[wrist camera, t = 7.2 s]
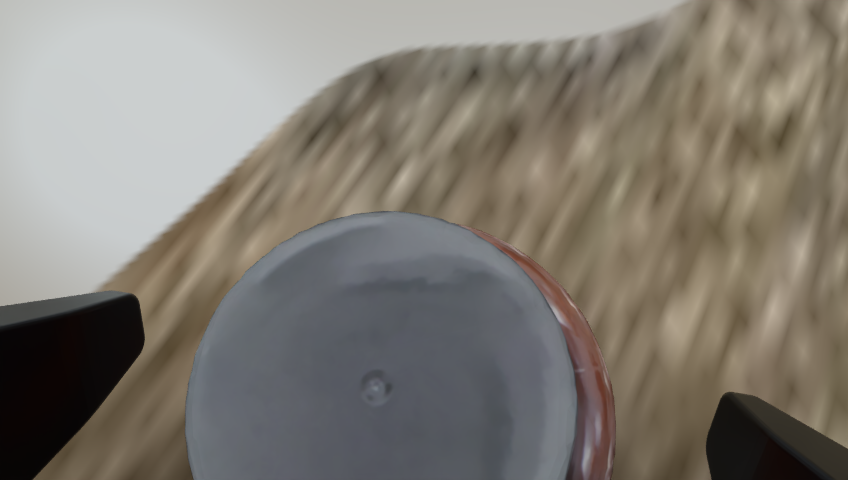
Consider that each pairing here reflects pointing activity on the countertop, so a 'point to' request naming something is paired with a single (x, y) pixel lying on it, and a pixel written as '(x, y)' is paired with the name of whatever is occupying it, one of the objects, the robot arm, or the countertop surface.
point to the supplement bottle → (398, 363)
